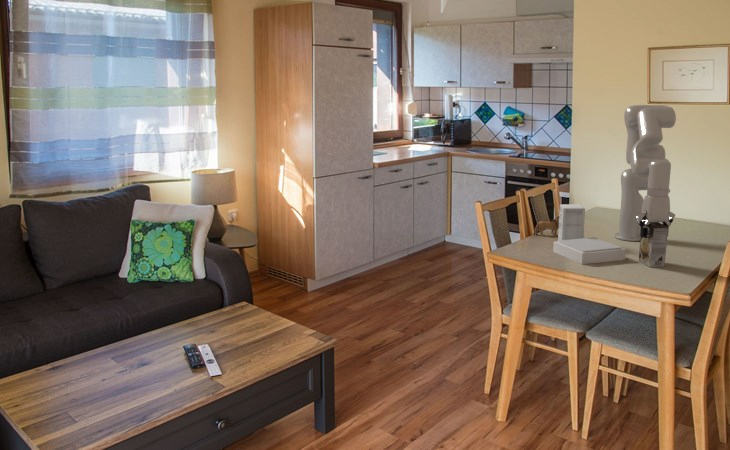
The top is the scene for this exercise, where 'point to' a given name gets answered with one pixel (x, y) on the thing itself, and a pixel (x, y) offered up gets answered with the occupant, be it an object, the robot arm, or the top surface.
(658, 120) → the robot arm
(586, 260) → the square tray
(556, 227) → the lion figurine
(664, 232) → the coffee box
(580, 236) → the supplement box
